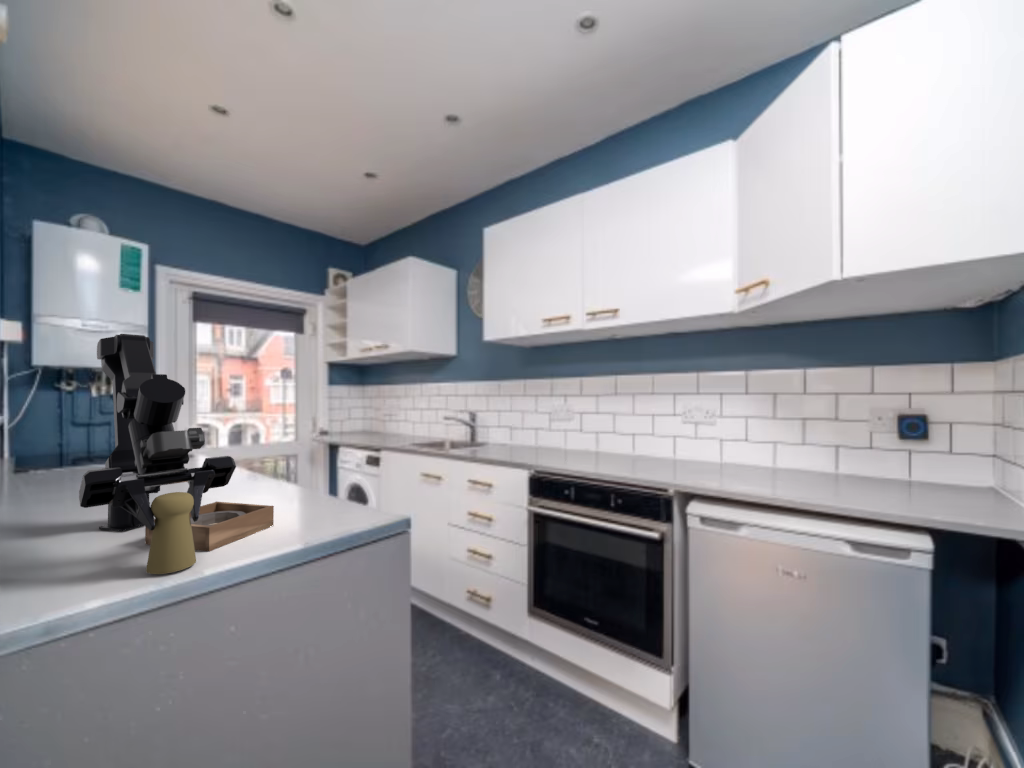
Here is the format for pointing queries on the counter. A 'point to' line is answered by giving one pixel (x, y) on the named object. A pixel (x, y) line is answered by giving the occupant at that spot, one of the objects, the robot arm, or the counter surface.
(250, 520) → the socket box
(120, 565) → the counter surface
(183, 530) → the olive knobbed peg
